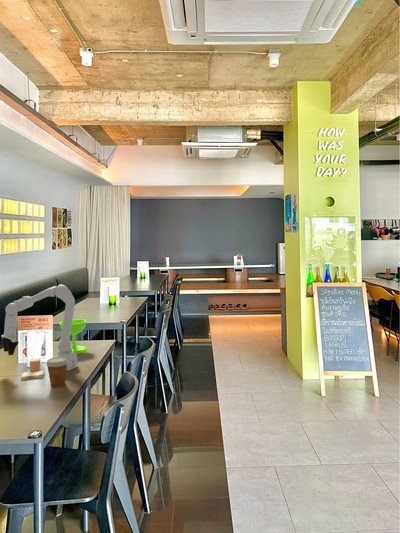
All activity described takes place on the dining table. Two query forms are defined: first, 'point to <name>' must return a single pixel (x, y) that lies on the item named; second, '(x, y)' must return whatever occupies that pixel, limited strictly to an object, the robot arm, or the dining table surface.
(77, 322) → the wineglass
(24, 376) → the birch board
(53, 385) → the disposable coffee cup
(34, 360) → the terracotta block
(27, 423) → the dining table surface
